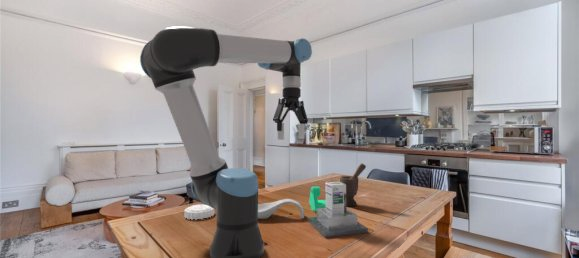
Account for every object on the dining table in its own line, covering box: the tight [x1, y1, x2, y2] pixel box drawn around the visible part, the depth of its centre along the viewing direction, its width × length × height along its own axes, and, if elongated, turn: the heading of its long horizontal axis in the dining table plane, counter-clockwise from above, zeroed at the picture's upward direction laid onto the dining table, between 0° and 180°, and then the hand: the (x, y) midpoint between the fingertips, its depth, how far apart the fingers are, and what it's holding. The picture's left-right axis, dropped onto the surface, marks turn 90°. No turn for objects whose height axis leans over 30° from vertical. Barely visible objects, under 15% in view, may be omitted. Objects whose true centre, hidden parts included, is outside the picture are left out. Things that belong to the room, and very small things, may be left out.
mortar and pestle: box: [339, 163, 367, 207], centre depth 122 cm, size 12×9×20 cm
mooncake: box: [183, 203, 216, 221], centre depth 107 cm, size 12×12×4 cm
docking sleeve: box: [307, 207, 369, 239], centre depth 93 cm, size 16×16×6 cm
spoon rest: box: [258, 198, 305, 220], centre depth 105 cm, size 24×12×7 cm, turn 88°
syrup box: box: [324, 181, 347, 216], centre depth 94 cm, size 6×6×14 cm
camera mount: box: [308, 186, 326, 212], centre depth 115 cm, size 12×8×10 cm, turn 7°
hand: (291, 139), depth 106 cm, fingers open, 13 cm apart
